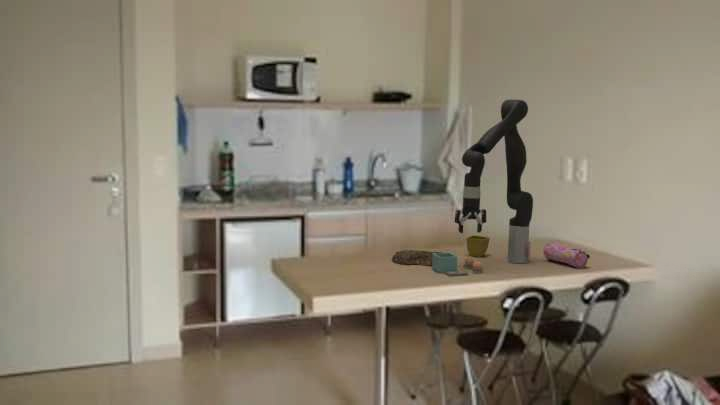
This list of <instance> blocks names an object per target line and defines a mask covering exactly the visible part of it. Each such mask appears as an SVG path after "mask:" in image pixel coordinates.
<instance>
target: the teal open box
mask: <svg viewBox="0 0 720 405" xmlns="http://www.w3.org/2000/svg"><path fill="white" fill-rule="evenodd" d="M431 270H433V271H434V272H437V274H445V272H450V271H458V255H455V254H453V253H451V252H441V253H433V260H432V268H431Z"/></svg>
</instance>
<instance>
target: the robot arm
mask: <svg viewBox="0 0 720 405" xmlns="http://www.w3.org/2000/svg"><path fill="white" fill-rule="evenodd" d="M500 106H501V107H500V116H501V120H500V121H499V122H498V123H497V124H494V126H492V127H491V128H489V129H488V130H487V131H486V132H485V133H484V134H483V135H482V136H481V138H480V139H479V140H478V141H477V142H476V143H474V144H473V145H471V147H469V148H468V149H466V150H465V152H464V153H463V155H462V157H461V161H462V164H463V165H464V166H465V167H469V168H470V170H469V172H467V173H465V175H464V182H463V184H464V185H463V191H462V209H455V213H454V223H456V224H458V232H459V233H460V234H464V223H465V222H466V221H467V220H475V221H476V222H477V227H476V233H481V232H482V231H483V230H482V228H483V224H486V223H487V210H486V209H484V208H480V207H481V196H482V195H481V177H482V174H483V171H484V168H485V164H486V157H485V156H484V155H486V154H487V155H488V154H489V153H490V152H491V151H492V150H494V148H495V147H496V145H497V144H498V143H499V141H501V140H502V139H503V137H504V146H505V147H504V148H505V150H504V151H505V152H504V153H505V163H506V203H507V206H508V207H509V209H510V210H515V216H514V217H511V218H509V223H508V242H507V245H508V246H507V262H508V263H512V264H528V263H530V258H531V256H530V255H531V242H530V223H531V220H532V217H533V209H534V208H533V207H534V198H533V195H532V194H531V192H528V191H523V190H522V186H521V185H522V184H521V180H522V175H523V173H524V171H525V168H526V167H527V149H526V145H525V142H524V141H523V139H522V136H520V133H519V130H518V126H517V125H518V124H519V123H520V122H521V121H523V119H525V118H526V117H527V114H528V111H529V106H528V103H527V101H525V100H523V99H505V100H504V101H503V102H502V104H501V105H500ZM461 214H462V215H461ZM479 215H480V216H481V218H480V216H479Z"/></svg>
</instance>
